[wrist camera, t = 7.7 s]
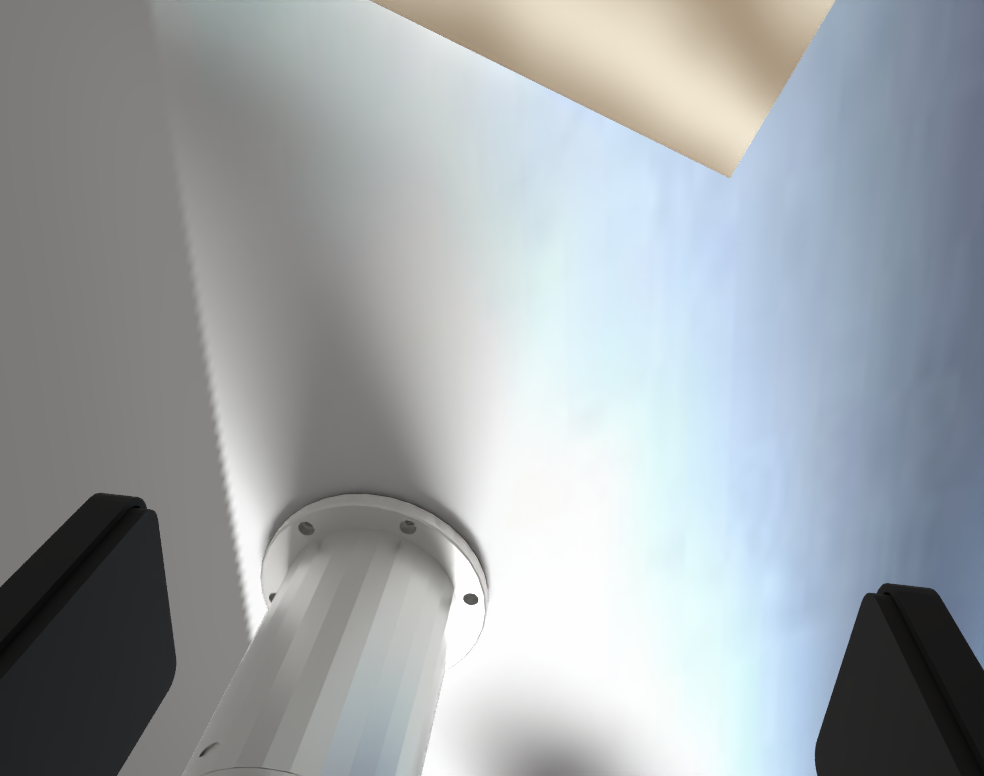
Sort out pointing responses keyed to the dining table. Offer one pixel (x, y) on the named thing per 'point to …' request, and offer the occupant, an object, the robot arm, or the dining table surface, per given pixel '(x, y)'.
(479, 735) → the dining table surface
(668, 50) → the wooden cutting board
